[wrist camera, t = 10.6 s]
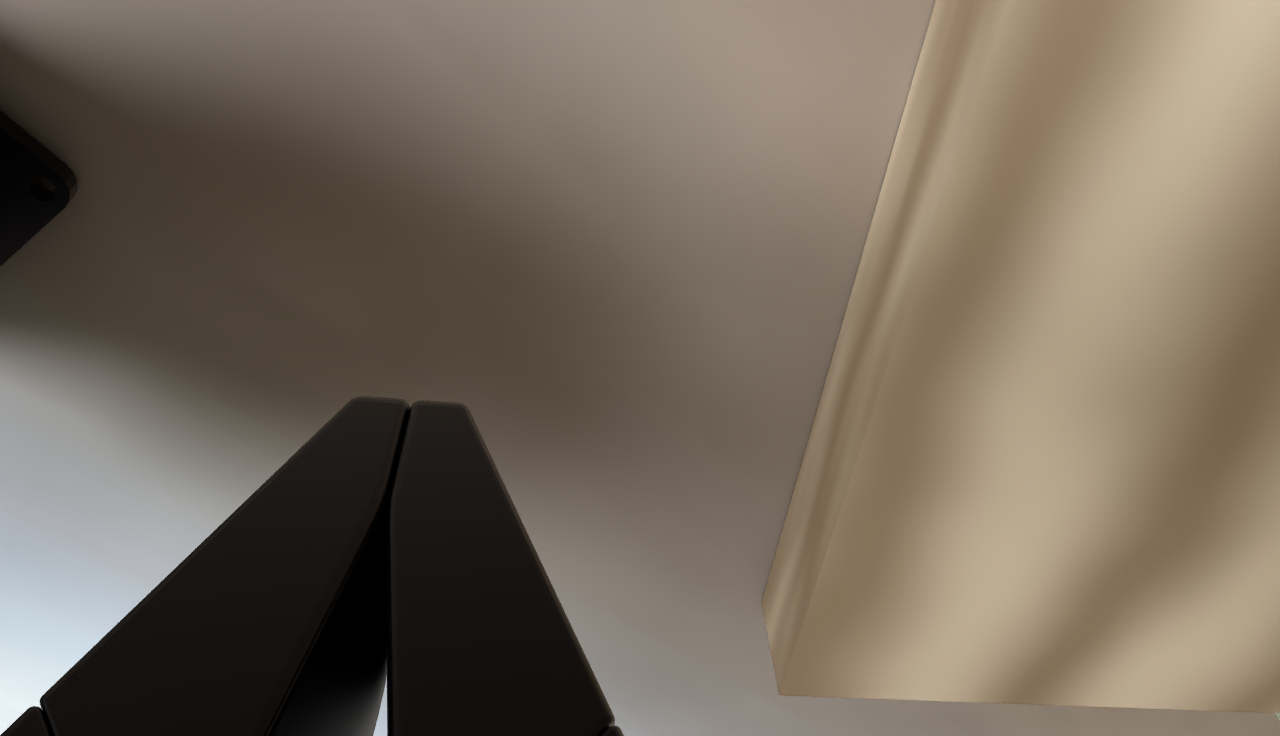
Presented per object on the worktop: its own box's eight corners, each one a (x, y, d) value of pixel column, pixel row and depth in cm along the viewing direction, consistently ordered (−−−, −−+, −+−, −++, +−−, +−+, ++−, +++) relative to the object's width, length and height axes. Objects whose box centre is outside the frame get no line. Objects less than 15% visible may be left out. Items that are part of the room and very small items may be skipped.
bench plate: (761, 601, 29) (779, 695, 27) (1047, -387, 16) (1133, -381, 14) (1240, 624, 31) (1298, 713, 28) (1839, -253, 18) (2036, -227, 16)
